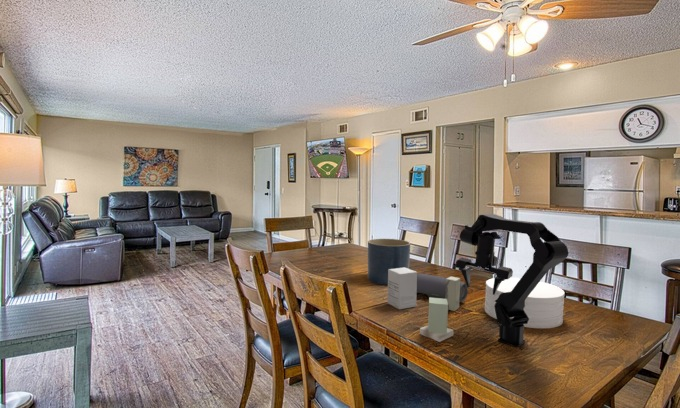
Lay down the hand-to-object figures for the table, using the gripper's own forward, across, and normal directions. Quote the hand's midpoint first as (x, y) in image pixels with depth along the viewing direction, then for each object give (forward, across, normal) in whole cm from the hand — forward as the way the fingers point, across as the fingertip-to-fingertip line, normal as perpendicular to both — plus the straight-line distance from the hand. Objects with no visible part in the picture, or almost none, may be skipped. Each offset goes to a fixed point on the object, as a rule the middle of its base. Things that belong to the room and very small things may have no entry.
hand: (480, 290), depth 135 cm
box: (+15, +14, -10) cm, 23 cm away
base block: (+14, +8, +18) cm, 24 cm away
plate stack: (+14, -9, -24) cm, 29 cm away
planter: (+18, +58, -29) cm, 67 cm away
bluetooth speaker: (+16, +24, -19) cm, 34 cm away
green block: (+11, +7, +18) cm, 23 cm away
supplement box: (+16, +32, 0) cm, 35 cm away
